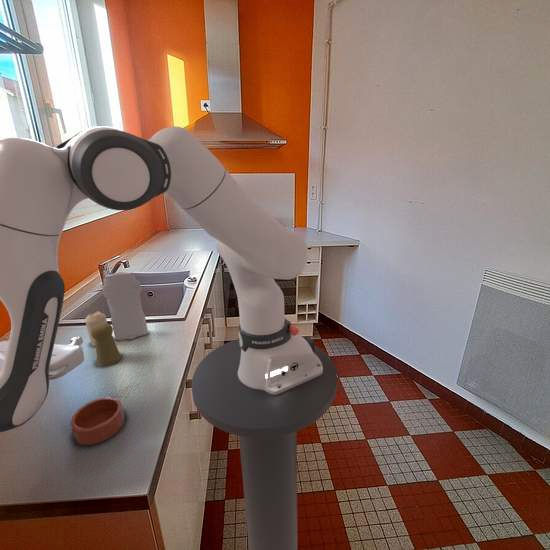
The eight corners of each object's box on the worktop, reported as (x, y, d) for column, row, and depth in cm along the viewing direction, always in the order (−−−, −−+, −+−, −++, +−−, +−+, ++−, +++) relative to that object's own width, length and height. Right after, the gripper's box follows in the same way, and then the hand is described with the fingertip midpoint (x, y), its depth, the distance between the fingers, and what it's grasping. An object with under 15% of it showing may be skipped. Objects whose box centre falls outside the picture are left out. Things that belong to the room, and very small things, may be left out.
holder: (126, 405, 69) (123, 392, 68) (121, 436, 61) (118, 423, 60) (80, 416, 66) (76, 403, 65) (69, 451, 58) (64, 437, 57)
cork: (122, 361, 85) (114, 326, 82) (98, 369, 82) (89, 333, 78) (119, 351, 90) (111, 318, 86) (96, 358, 87) (87, 324, 83)
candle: (105, 335, 99) (98, 307, 96) (114, 340, 96) (107, 312, 93) (88, 343, 95) (80, 314, 92) (96, 348, 92) (88, 319, 89)
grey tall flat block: (149, 329, 102) (137, 268, 94) (149, 335, 98) (137, 271, 91) (114, 336, 98) (99, 272, 91) (113, 342, 95) (97, 277, 87)
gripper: (46, 366, 54) (99, 328, 67) (-48, 359, 57) (19, 324, 70) (55, 394, 56) (105, 352, 69) (-36, 386, 59) (27, 347, 72)
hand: (61, 338), depth 70 cm, fingers open, 8 cm apart
